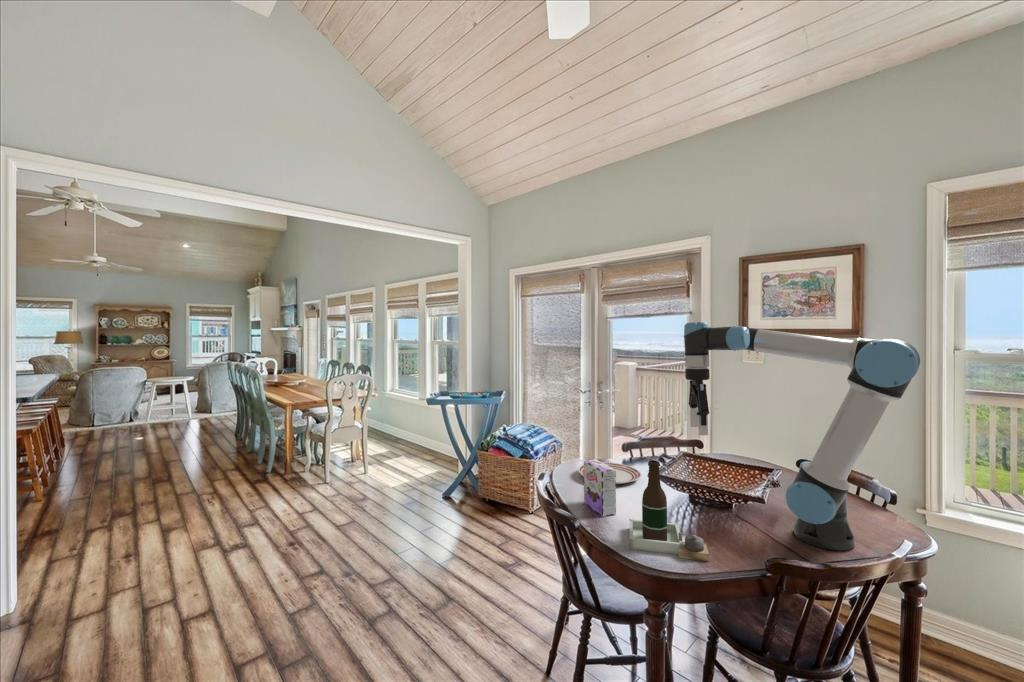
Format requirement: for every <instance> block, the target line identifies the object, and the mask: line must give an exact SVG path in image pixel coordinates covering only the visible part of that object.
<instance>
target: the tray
mask: <svg viewBox="0 0 1024 682" xmlns="http://www.w3.org/2000/svg"><path fill="white" fill-rule="evenodd" d="M628 524H629V525H628V526H629V550H635V551H646V552H652V553H662V554H671V555H672V554H673V555H678V548H684V544H683V542H684V540H682V541H680V540H679V532H681V529H680V526H679V524H678V523H672V522H667V541H659V540H649V539H643V533H642V519H630V518H629V523H628ZM677 541H678V542H679V543H678V542H677Z"/></svg>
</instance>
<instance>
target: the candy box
mask: <svg viewBox="0 0 1024 682" xmlns="http://www.w3.org/2000/svg"><path fill="white" fill-rule="evenodd" d="M602 462H603V461H601V460H598V459H597V458H593V459H587V460H583V465H584V476H583V481H584V482H583V483H584V484H583V486H584V487H583V488H584V489H583V490H584V491H583V492H584V498H583V500H584V501H583V503H584V504H585V505H586V506H588V507H589V508H590V509H591V510H593V511H594V512H595V513H597V514H598V515H599V516H601V517H602V518H605V517H606V518H607V517H613V516H617V508H616V507H617V505H616V504H617V503H616V502H617V498H616V497H617V495H616V491H617V490H616V489H617V487H616V486H617V485H616V469H613V468H611V467H609V466H608V465H606V464H604V463H602Z"/></svg>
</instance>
